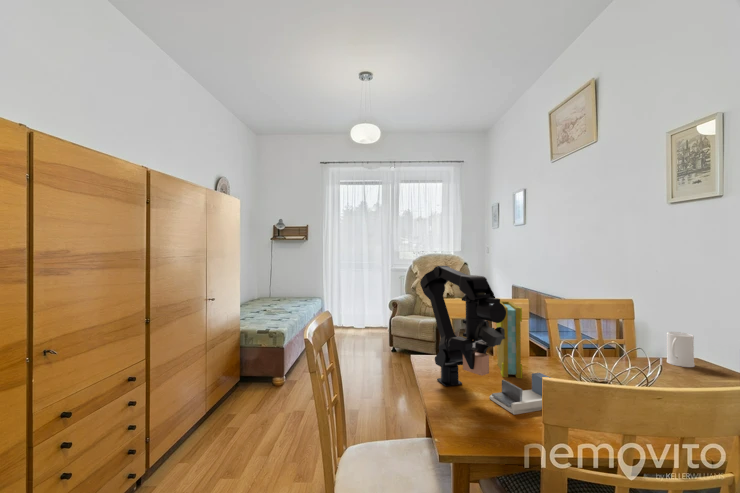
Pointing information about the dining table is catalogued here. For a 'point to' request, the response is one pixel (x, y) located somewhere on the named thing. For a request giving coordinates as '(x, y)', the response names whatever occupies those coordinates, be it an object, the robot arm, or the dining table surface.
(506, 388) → the bookend
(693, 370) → the dining table surface
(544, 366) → the dining table surface
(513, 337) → the book
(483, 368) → the book block
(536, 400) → the shelf
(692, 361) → the mug
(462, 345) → the robot arm
